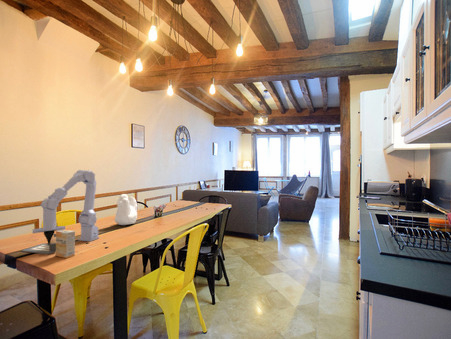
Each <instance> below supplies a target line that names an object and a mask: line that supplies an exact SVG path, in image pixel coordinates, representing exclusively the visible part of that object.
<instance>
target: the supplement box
mask: <svg viewBox="0 0 451 339" xmlns="http://www.w3.org/2000/svg"><path fill="white" fill-rule="evenodd" d="M55 234H56V252H55V257H59V258H64V259H69V258H71V257H75V256H76V231H75V230H71V229H70V230H69V229H66V228H65V229H63V230H58V231H55Z"/></svg>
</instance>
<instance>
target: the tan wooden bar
mask: <svg viewBox="0 0 451 339" xmlns="http://www.w3.org/2000/svg"><path fill="white" fill-rule="evenodd" d="M50 250H56V233H54V235H53V236H52V239H51V242H50V244H49V251H50Z"/></svg>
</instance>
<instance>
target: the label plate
mask: <svg viewBox="0 0 451 339" xmlns="http://www.w3.org/2000/svg"><path fill="white" fill-rule="evenodd" d="M21 252H24V253H33V254H43V255H51V254H53V253H56V250H50V251H49V245H48V243H40V244H36V245H34V246H30V247H27V248H24V249H21Z"/></svg>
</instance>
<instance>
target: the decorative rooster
mask: <svg viewBox="0 0 451 339" xmlns="http://www.w3.org/2000/svg"><path fill="white" fill-rule="evenodd" d="M116 204H117V206H116V207H117V208H116V213H115V216H114V223H116V224H117V225H119V226H120V225H121V226H126V225H131V224H135V223H136V221H137V219H138V207H139V206H138V202H137V200H136V198H135V197H134V196H128V194H126V193H122V194H121V195H120V196H119V199H117V202H116Z"/></svg>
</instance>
